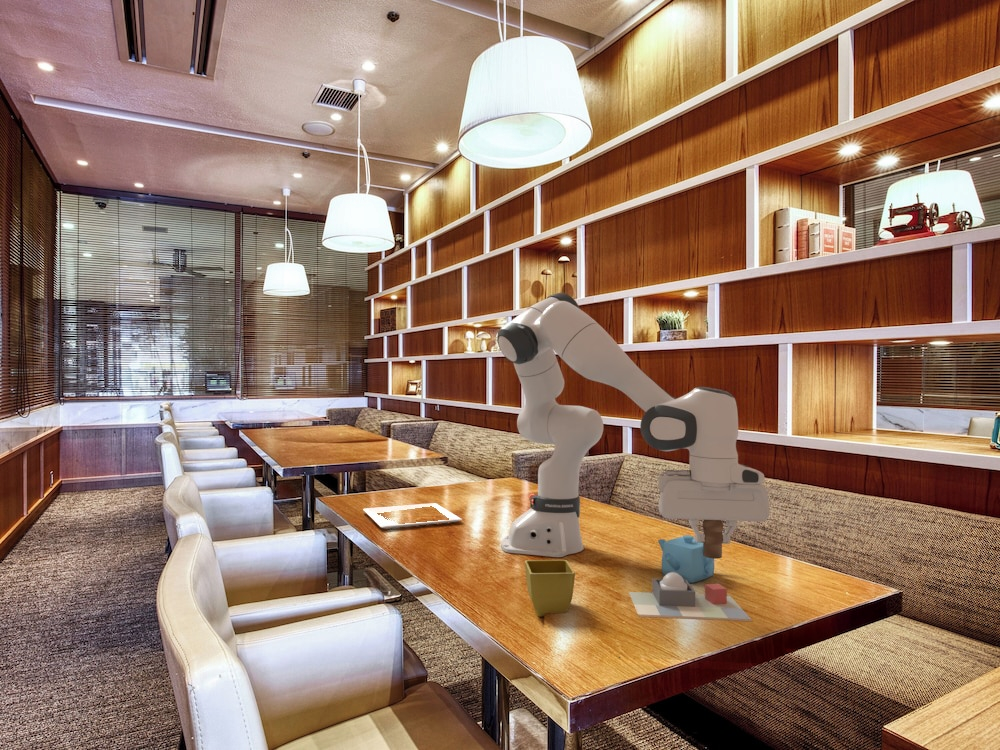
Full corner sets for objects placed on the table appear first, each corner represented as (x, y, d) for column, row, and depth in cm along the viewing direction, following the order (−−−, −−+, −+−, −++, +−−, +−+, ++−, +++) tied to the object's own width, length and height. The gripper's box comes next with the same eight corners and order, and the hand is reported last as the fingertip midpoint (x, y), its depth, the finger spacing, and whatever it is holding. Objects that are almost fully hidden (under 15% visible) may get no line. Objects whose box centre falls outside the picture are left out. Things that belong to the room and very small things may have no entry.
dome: (662, 602, 116) (662, 576, 116) (657, 593, 121) (657, 568, 121) (690, 603, 116) (690, 577, 116) (683, 594, 121) (683, 569, 121)
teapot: (690, 596, 123) (691, 548, 123) (636, 578, 134) (637, 535, 134) (733, 579, 135) (734, 535, 135) (680, 563, 146) (681, 523, 146)
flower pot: (523, 603, 118) (524, 559, 118) (566, 603, 118) (566, 559, 119) (529, 621, 109) (530, 573, 109) (575, 620, 110) (575, 573, 110)
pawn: (703, 558, 110) (704, 517, 110) (700, 552, 114) (701, 513, 114) (724, 559, 110) (725, 518, 110) (720, 553, 113) (721, 514, 113)
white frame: (362, 514, 196) (362, 508, 196) (435, 508, 207) (435, 502, 207) (380, 533, 172) (380, 526, 172) (462, 525, 183) (462, 518, 183)
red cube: (713, 604, 116) (713, 589, 116) (705, 599, 119) (705, 584, 119) (726, 603, 117) (726, 588, 117) (718, 598, 120) (718, 583, 120)
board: (638, 621, 110) (639, 600, 110) (628, 596, 123) (628, 577, 123) (753, 626, 108) (753, 605, 108) (730, 600, 121) (730, 581, 121)
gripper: (661, 471, 110) (661, 545, 110) (773, 474, 108) (772, 549, 108) (655, 467, 116) (654, 536, 116) (760, 470, 115) (759, 540, 114)
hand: (712, 542), depth 112 cm, fingers closed on pawn, 3 cm apart
